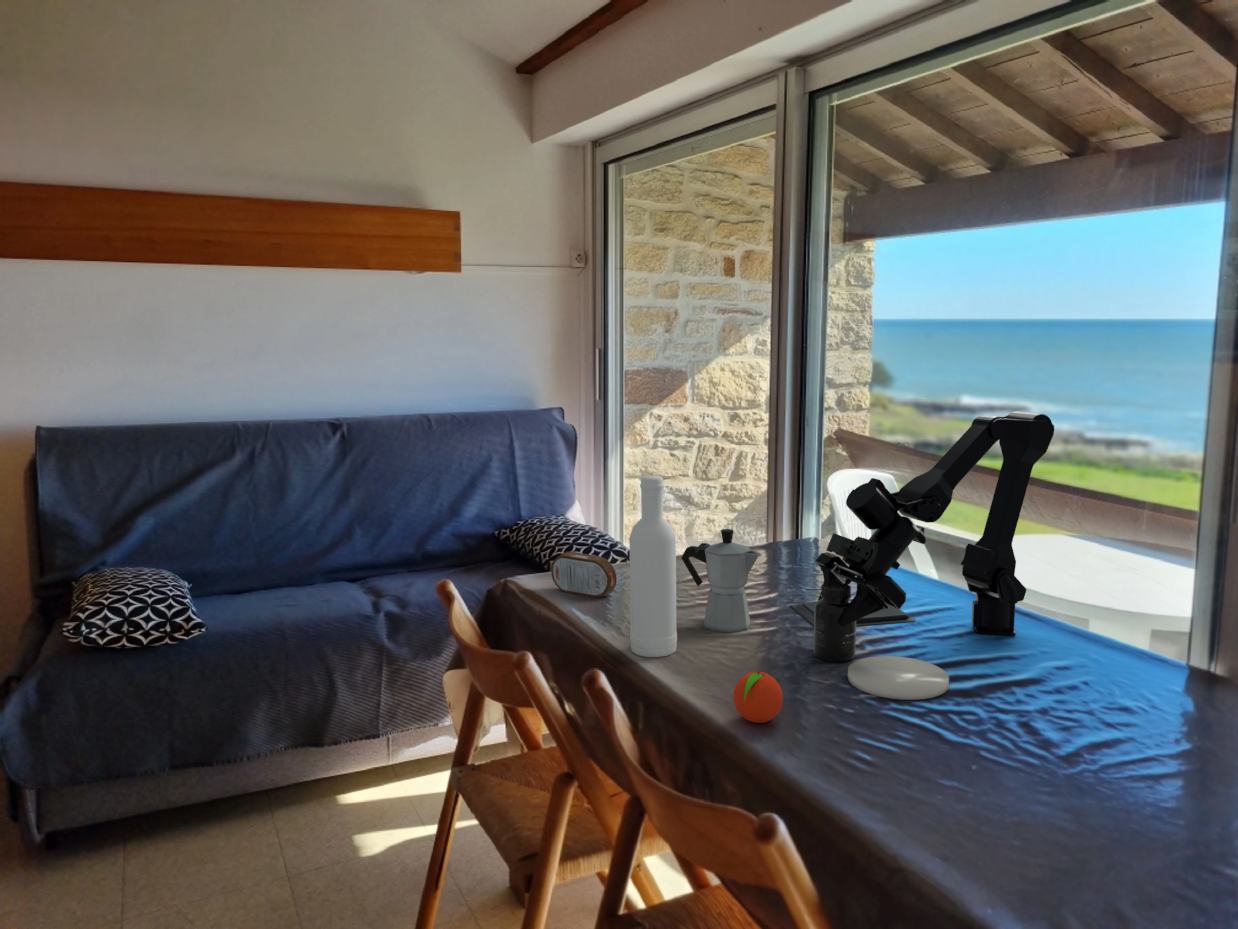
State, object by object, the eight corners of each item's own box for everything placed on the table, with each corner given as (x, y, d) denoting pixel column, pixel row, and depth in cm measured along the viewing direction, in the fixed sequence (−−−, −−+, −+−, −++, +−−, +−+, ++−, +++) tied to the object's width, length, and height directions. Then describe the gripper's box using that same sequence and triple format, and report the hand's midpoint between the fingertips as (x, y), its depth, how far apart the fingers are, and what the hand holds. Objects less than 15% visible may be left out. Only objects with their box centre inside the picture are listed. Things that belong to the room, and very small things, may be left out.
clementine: (768, 738, 127) (768, 688, 126) (721, 727, 131) (721, 678, 130) (790, 716, 134) (791, 668, 133) (745, 707, 138) (745, 660, 136)
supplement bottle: (856, 664, 154) (858, 592, 152) (813, 661, 155) (814, 590, 153) (854, 649, 160) (856, 581, 159) (813, 647, 162) (814, 579, 160)
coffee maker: (765, 621, 176) (766, 526, 174) (756, 635, 168) (757, 537, 165) (688, 614, 181) (687, 522, 179) (675, 628, 173) (675, 532, 170)
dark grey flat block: (816, 623, 171) (788, 599, 186) (816, 633, 171) (788, 608, 186) (920, 616, 174) (884, 593, 189) (919, 626, 174) (883, 602, 189)
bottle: (620, 650, 162) (618, 477, 157) (651, 638, 167) (649, 471, 163) (656, 661, 156) (654, 482, 152) (686, 649, 162) (685, 476, 158)
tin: (617, 597, 193) (617, 557, 192) (609, 601, 190) (608, 560, 189) (558, 587, 201) (557, 548, 200) (549, 591, 198) (548, 552, 197)
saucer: (945, 667, 152) (945, 660, 151) (952, 704, 137) (952, 696, 137) (849, 660, 156) (849, 653, 155) (845, 694, 141) (846, 687, 141)
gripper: (825, 506, 164) (769, 575, 162) (892, 527, 147) (831, 604, 145) (862, 546, 168) (808, 613, 166) (932, 571, 151) (872, 647, 149)
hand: (828, 618), depth 156 cm, fingers closed on supplement bottle, 7 cm apart
